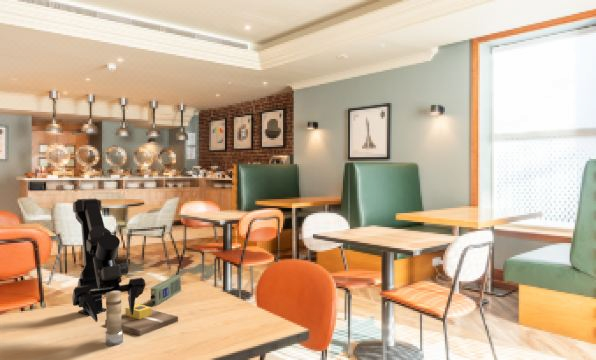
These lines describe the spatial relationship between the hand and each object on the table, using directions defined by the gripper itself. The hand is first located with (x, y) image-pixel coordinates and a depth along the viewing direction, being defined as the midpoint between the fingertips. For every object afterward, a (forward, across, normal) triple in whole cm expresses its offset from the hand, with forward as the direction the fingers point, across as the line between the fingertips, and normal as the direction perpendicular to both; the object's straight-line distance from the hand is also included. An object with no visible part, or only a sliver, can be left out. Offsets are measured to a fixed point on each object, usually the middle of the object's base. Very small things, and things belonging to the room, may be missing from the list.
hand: (114, 317), depth 118 cm
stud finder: (-7, +10, +15) cm, 20 cm away
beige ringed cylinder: (+4, 0, +6) cm, 7 cm away
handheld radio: (-18, +24, +29) cm, 41 cm away
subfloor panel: (-4, +10, +14) cm, 18 cm away
